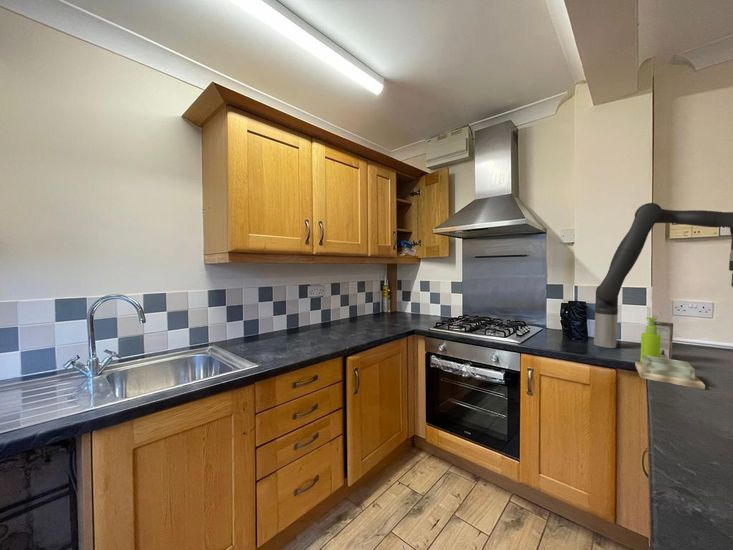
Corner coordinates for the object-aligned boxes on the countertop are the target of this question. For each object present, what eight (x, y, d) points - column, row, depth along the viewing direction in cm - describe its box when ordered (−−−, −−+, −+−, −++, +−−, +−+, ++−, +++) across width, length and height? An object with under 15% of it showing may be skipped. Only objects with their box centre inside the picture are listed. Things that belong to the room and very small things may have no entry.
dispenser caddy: (640, 377, 110) (641, 363, 109) (635, 365, 124) (635, 352, 124) (704, 389, 100) (705, 373, 100) (690, 374, 114) (691, 360, 114)
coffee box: (652, 354, 142) (654, 321, 141) (672, 357, 137) (673, 323, 136) (649, 357, 136) (651, 323, 135) (669, 361, 131) (671, 325, 130)
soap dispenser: (655, 363, 127) (657, 317, 126) (661, 368, 121) (663, 319, 121) (637, 361, 130) (639, 316, 129) (642, 365, 124) (644, 318, 124)
